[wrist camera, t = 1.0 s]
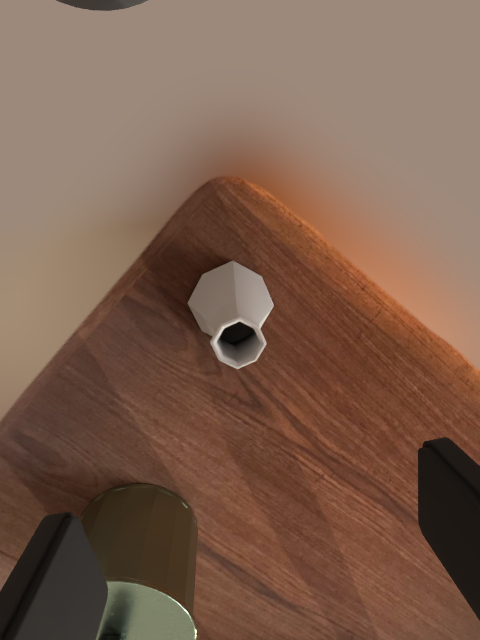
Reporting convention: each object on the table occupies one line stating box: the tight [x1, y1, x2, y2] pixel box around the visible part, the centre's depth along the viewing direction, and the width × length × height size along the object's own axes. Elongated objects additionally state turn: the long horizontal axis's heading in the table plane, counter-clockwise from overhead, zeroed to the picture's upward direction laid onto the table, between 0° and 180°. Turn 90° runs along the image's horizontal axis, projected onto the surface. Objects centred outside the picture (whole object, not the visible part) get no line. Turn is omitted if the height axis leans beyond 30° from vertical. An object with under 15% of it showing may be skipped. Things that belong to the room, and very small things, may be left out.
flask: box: [188, 261, 274, 369], centre depth 24 cm, size 7×7×10 cm
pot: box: [80, 484, 198, 614], centre depth 31 cm, size 13×13×10 cm
